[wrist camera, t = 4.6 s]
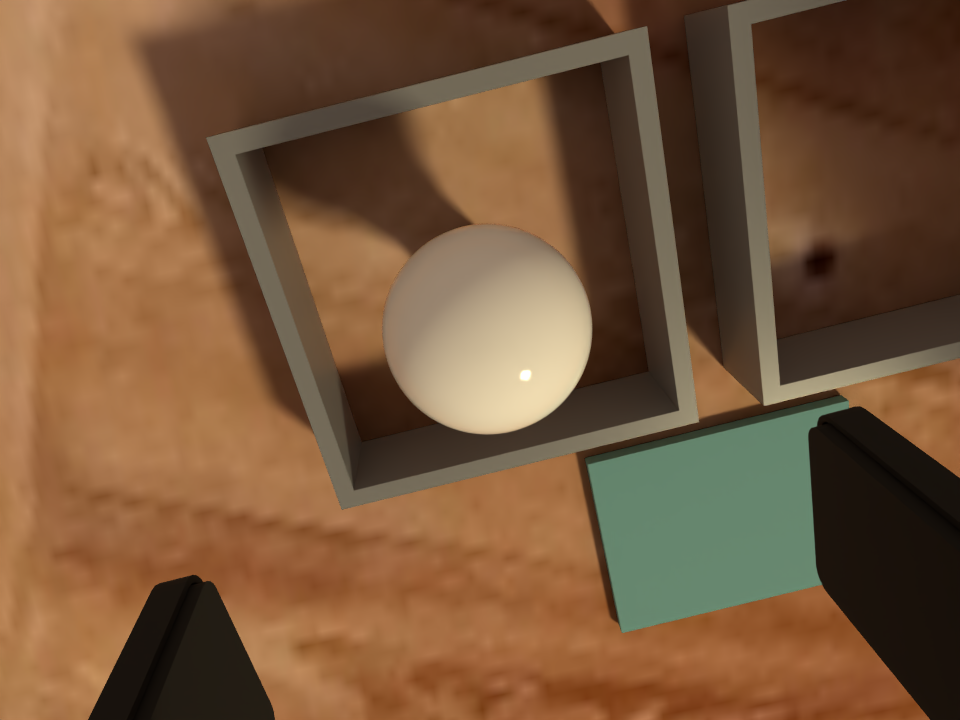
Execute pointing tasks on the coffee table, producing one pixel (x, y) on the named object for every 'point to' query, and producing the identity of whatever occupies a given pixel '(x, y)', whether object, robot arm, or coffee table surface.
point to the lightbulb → (487, 329)
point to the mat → (709, 516)
